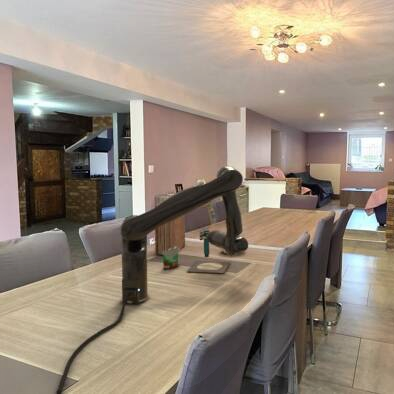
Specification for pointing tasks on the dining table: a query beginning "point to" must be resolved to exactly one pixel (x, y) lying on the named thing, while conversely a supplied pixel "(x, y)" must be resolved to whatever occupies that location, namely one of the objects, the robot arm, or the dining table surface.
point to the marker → (206, 245)
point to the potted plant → (170, 257)
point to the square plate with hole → (209, 267)
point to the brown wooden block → (170, 235)
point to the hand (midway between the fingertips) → (203, 233)
